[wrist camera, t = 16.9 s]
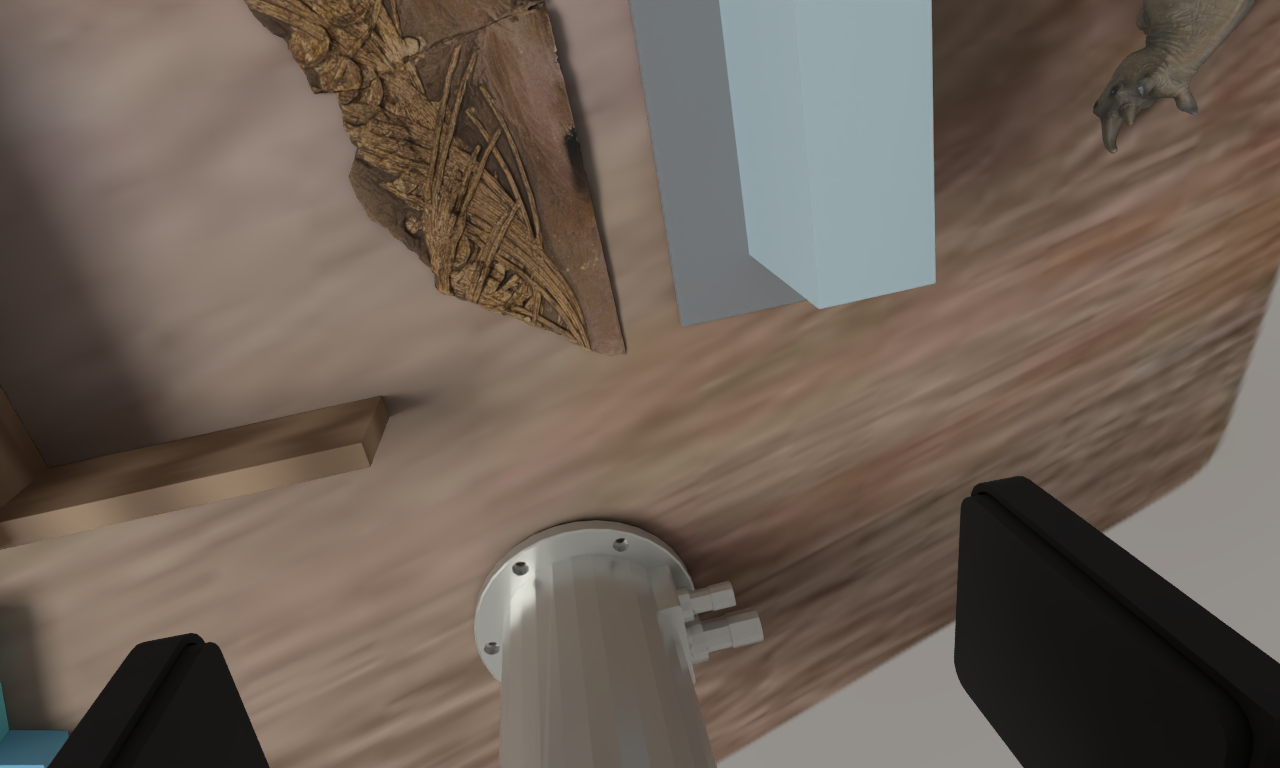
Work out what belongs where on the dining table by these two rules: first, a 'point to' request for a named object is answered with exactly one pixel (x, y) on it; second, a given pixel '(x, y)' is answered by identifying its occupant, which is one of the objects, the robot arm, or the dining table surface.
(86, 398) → the dining table surface
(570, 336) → the fossil stone slab
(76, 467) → the open wooden box
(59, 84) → the dining table surface
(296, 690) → the dining table surface
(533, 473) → the dining table surface
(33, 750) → the tetris game
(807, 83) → the pale blue rectangular block
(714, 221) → the mat
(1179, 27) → the rhino figurine
